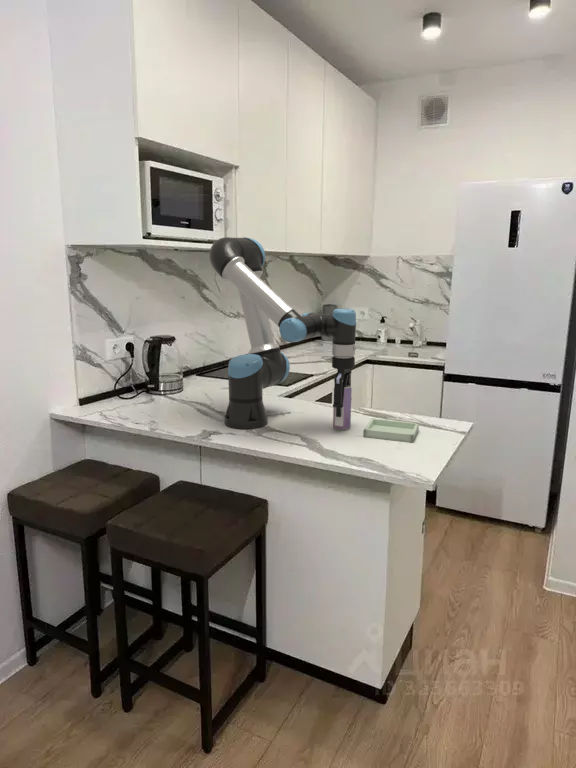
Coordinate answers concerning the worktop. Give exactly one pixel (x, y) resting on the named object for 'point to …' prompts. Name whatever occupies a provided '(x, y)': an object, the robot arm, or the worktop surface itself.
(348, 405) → the beverage can
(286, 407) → the worktop surface
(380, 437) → the tray
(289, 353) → the worktop surface
